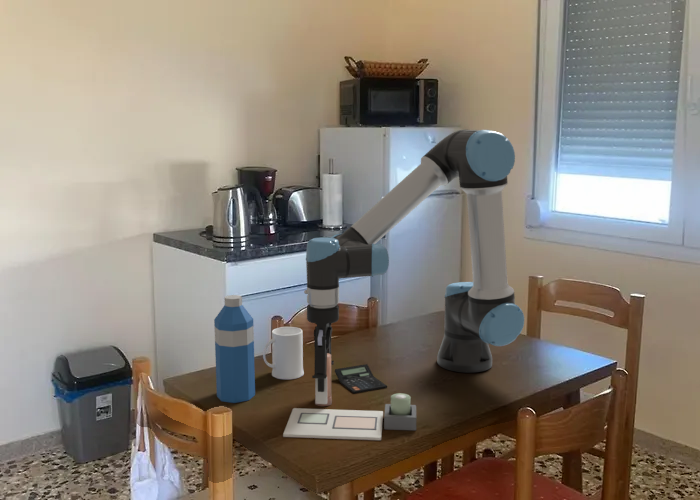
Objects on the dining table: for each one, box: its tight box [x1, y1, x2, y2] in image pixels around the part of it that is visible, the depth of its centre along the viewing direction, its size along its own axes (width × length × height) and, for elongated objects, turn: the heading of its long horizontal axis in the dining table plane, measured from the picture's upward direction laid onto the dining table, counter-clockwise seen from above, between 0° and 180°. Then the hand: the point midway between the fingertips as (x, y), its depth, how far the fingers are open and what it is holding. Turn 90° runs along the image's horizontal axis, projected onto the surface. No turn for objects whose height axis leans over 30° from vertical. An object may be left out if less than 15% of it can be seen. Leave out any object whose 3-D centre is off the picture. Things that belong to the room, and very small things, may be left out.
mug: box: [262, 326, 305, 381], centre depth 189 cm, size 12×8×12 cm
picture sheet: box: [282, 407, 384, 441], centre depth 160 cm, size 21×14×1 cm, turn 86°
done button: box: [390, 392, 412, 415], centre depth 160 cm, size 4×4×4 cm
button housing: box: [383, 403, 417, 431], centre depth 160 cm, size 7×7×3 cm
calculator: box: [334, 363, 388, 394], centre depth 185 cm, size 9×12×3 cm
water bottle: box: [213, 294, 256, 404], centre depth 174 cm, size 9×9×25 cm
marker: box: [314, 353, 333, 407], centre depth 171 cm, size 4×4×13 cm
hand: (323, 397), depth 171 cm, fingers open, 7 cm apart
